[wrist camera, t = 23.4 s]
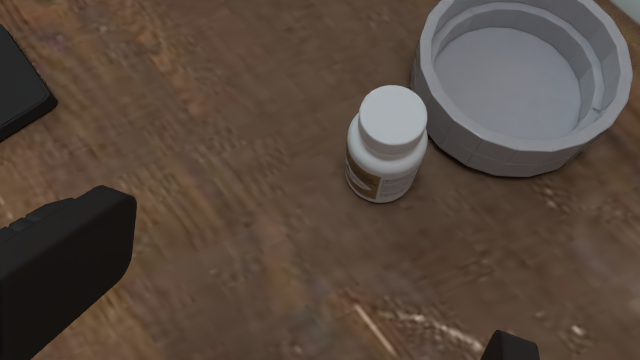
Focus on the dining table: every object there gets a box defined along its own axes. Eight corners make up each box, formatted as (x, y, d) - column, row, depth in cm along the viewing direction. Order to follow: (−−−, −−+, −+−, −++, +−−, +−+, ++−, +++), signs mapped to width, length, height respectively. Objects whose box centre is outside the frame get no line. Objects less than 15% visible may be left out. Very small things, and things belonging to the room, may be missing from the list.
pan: (635, 116, 35) (677, 80, 31) (490, 216, 33) (514, 192, 29) (511, -9, 39) (533, -57, 35) (372, 72, 37) (378, 32, 32)
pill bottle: (333, 155, 34) (335, 93, 27) (395, 131, 35) (413, 65, 28) (361, 215, 33) (371, 167, 26) (425, 189, 33) (453, 135, 26)
